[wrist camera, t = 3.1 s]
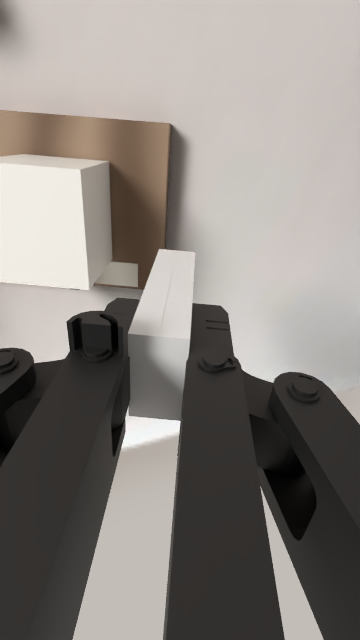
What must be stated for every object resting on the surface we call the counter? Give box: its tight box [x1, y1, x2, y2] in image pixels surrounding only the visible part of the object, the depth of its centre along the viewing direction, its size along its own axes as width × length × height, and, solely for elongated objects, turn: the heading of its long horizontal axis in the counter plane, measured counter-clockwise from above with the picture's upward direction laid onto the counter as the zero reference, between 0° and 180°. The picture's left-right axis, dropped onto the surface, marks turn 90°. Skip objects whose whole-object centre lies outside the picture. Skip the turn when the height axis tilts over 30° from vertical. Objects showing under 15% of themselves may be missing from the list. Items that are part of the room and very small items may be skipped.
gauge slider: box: [0, 154, 112, 290], centre depth 23 cm, size 9×10×6 cm
